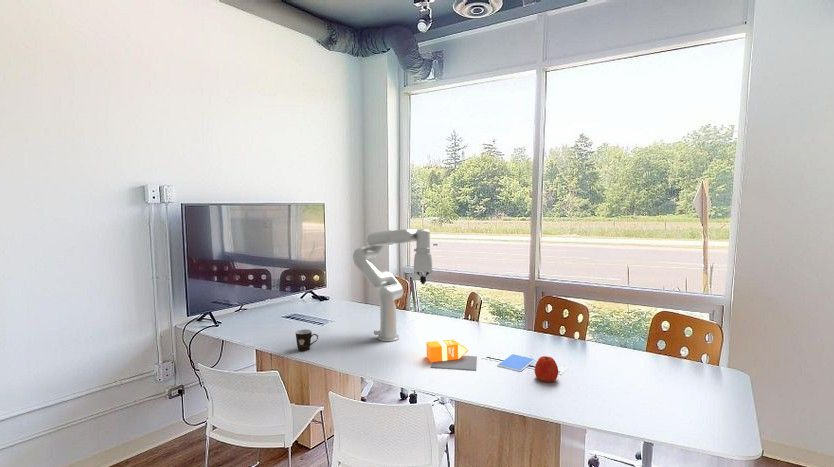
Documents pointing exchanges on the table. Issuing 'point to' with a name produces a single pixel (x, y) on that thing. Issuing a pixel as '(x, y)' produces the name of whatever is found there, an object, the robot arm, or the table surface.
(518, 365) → the tablet computer
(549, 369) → the apple
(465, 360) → the mat
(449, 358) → the orange juice
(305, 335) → the coffee mug
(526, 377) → the table surface
